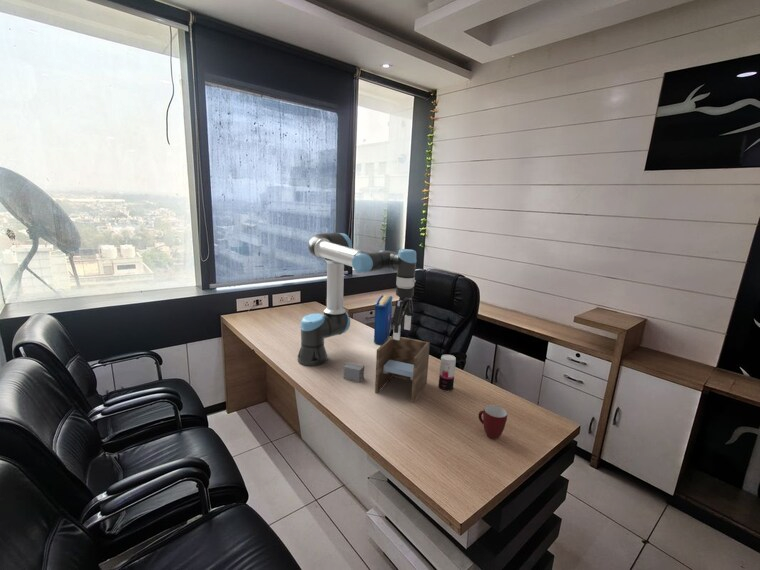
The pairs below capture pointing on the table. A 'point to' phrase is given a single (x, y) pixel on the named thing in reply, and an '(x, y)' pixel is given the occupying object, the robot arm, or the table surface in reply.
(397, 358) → the bookcase frame
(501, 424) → the mug
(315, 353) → the robot arm
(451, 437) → the table surface
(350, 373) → the riser block
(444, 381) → the beverage can
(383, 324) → the book
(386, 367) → the shelf board
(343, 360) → the table surface
